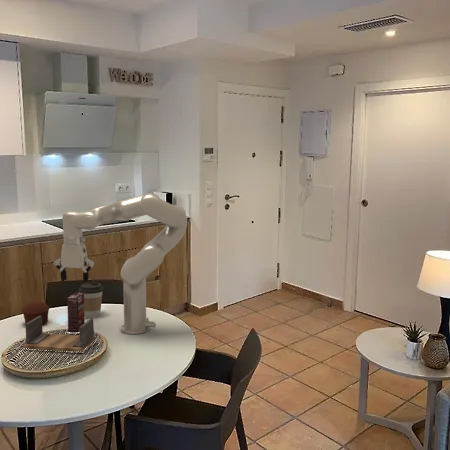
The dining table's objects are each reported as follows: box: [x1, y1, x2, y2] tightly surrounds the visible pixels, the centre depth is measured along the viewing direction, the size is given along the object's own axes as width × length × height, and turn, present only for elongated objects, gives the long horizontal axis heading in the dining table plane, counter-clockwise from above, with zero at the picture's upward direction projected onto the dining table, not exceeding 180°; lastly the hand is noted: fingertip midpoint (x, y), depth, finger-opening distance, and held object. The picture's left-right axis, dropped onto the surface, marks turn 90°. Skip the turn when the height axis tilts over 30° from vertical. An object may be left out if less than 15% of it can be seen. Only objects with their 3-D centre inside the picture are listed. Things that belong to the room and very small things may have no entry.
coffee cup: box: [78, 282, 105, 319], centre depth 221 cm, size 11×11×15 cm
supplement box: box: [66, 292, 86, 333], centre depth 202 cm, size 9×5×16 cm, turn 179°
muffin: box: [21, 300, 50, 327], centre depth 211 cm, size 12×11×10 cm
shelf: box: [23, 316, 98, 351], centre depth 186 cm, size 24×13×10 cm, turn 82°
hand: (74, 280), depth 200 cm, fingers open, 9 cm apart
